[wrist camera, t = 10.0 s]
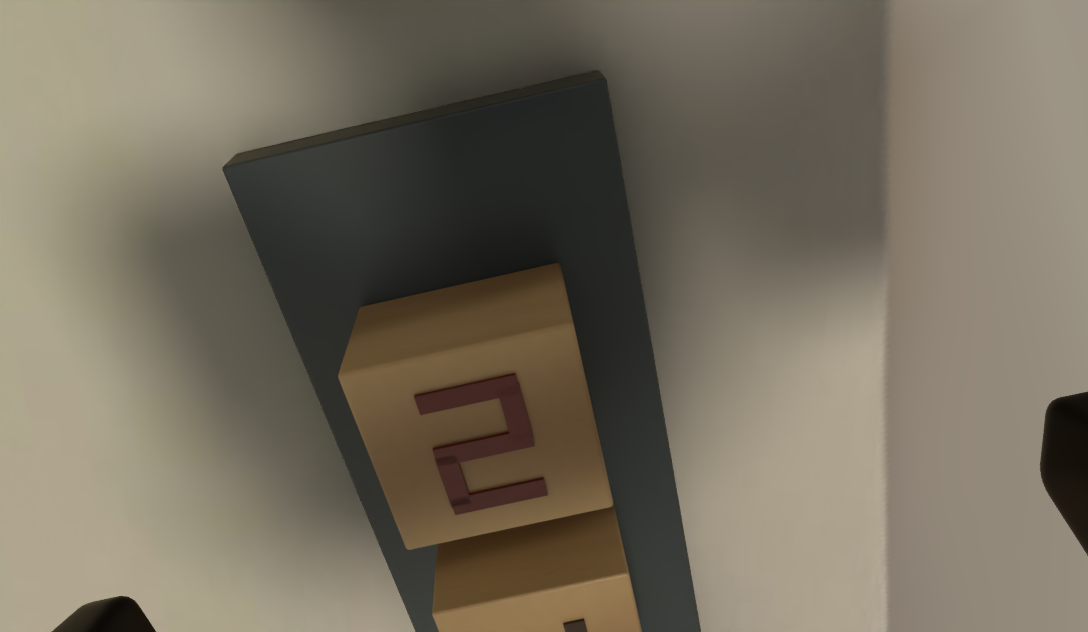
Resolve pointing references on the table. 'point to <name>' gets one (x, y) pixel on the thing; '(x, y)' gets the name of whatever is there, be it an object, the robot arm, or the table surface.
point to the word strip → (466, 256)
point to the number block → (476, 407)
